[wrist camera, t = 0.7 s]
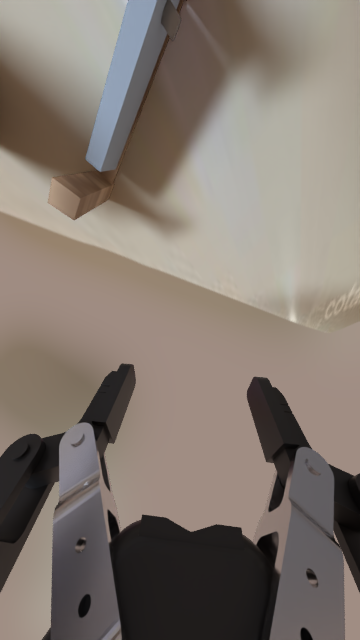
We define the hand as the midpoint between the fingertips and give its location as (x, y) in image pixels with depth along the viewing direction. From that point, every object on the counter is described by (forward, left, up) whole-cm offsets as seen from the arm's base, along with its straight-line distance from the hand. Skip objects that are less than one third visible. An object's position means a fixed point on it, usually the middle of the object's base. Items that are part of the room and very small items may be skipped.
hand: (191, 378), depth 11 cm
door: (-13, +8, -26) cm, 31 cm away
